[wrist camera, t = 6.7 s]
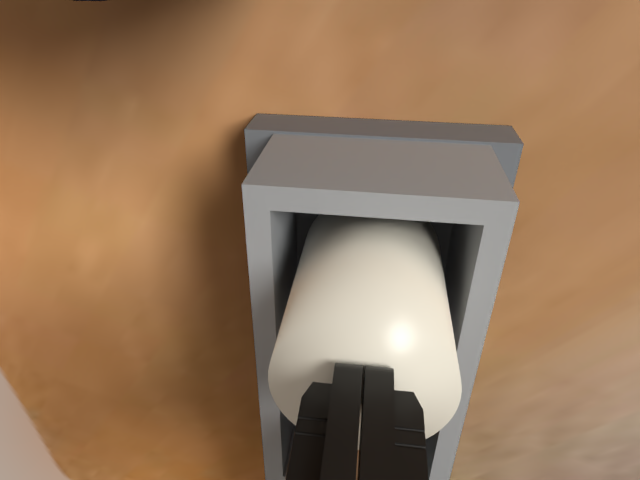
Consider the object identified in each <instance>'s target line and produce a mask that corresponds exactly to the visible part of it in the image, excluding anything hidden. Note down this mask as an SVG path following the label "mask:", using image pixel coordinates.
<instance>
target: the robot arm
mask: <svg viewBox="0 0 640 480" xmlns="http://www.w3.org/2000/svg"><path fill="white" fill-rule="evenodd" d="M362 371H363V365H354V364H343V363H335V366H334V373H333V381H332V384H330V383H320V382H312V383H311V385H310V386H309V388H308V389H307V390H306V392H305V393H304V394H303V396H302V397H301V402H300V407H299V413H298V419H297V423H296V428H295V435H294V438H293V444H292V449H291V454H290V459H289V464H288V469H287V475H286V480H356V468H357V452H358V435H359V419H360V403H361V387H362ZM357 480H429V478H428V465H427V452H426V438H425V425H424V412H423V408H422V407H421V405H420V403H419V401H418V399H417V397H416V395H415V394H414V392H409V391H399V390H394V369H393V368H385V367H375V366H365V376H364V388H363V399H362V411H361V426H360V442H359V459H358V476H357Z"/></svg>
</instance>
